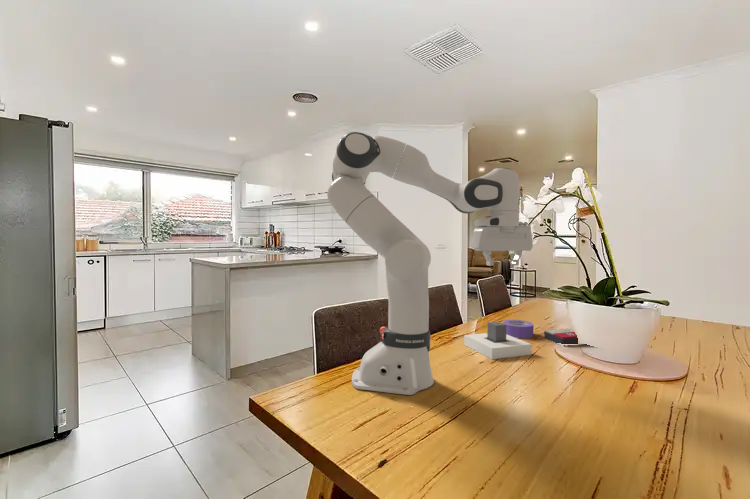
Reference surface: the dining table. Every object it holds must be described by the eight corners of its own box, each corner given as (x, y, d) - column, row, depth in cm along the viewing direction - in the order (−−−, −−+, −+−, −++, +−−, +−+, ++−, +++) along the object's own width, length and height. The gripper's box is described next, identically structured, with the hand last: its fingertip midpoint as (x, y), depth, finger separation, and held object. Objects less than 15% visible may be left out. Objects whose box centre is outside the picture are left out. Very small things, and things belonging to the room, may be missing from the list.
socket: (491, 359, 113) (492, 346, 113) (464, 344, 128) (464, 333, 128) (531, 354, 118) (531, 341, 118) (500, 341, 133) (500, 329, 133)
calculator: (543, 329, 139) (577, 326, 141) (543, 340, 139) (577, 337, 141) (562, 337, 128) (598, 334, 130) (562, 348, 128) (598, 345, 130)
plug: (495, 348, 120) (495, 325, 120) (487, 344, 124) (487, 322, 124) (506, 347, 122) (506, 324, 121) (497, 343, 126) (498, 321, 126)
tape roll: (513, 339, 136) (513, 326, 136) (497, 331, 148) (497, 319, 148) (539, 338, 139) (540, 325, 139) (521, 330, 150) (522, 318, 150)
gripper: (523, 222, 114) (522, 264, 114) (470, 220, 108) (469, 265, 108) (538, 221, 108) (536, 265, 108) (482, 219, 102) (481, 266, 102)
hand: (502, 265), depth 108 cm, fingers open, 8 cm apart
